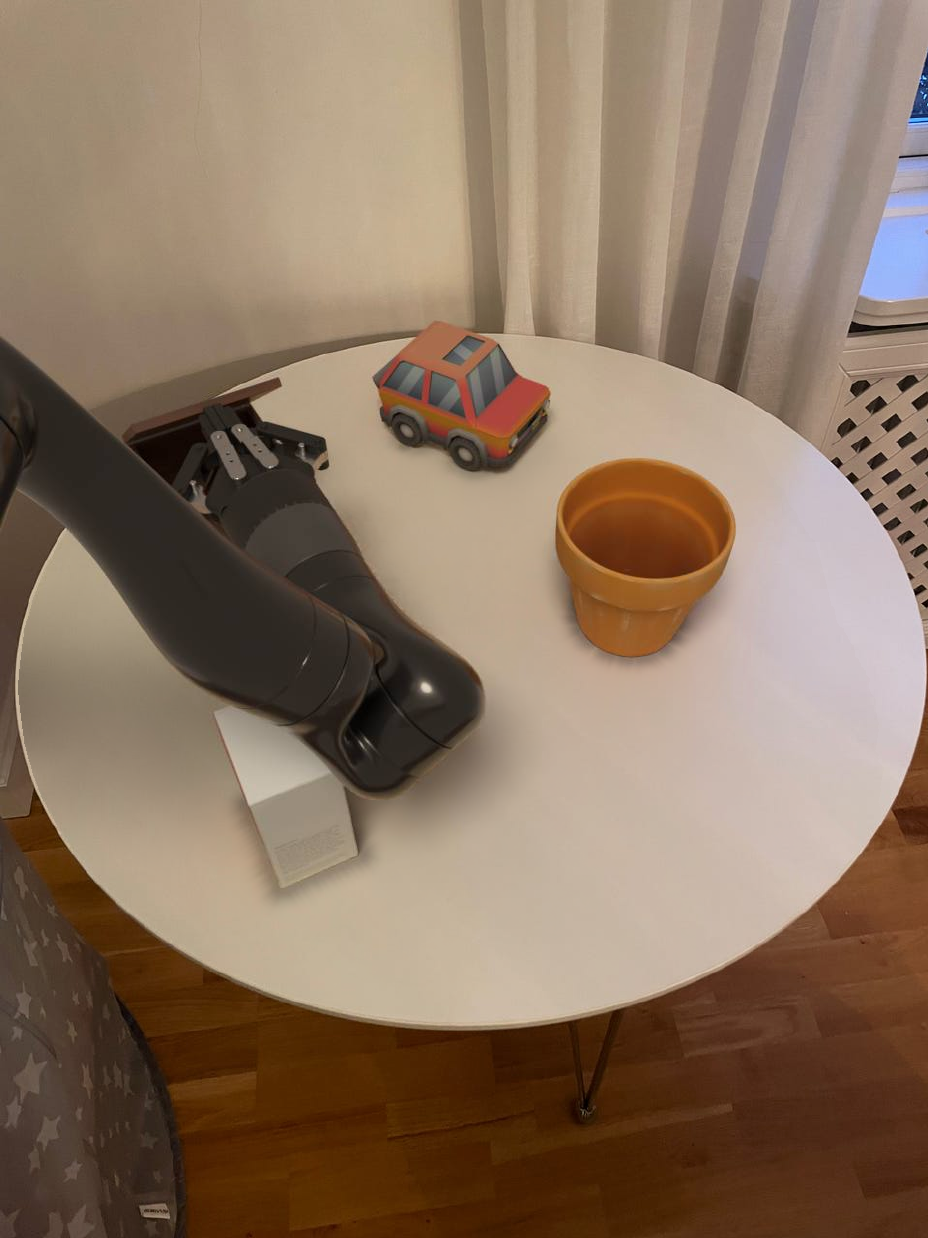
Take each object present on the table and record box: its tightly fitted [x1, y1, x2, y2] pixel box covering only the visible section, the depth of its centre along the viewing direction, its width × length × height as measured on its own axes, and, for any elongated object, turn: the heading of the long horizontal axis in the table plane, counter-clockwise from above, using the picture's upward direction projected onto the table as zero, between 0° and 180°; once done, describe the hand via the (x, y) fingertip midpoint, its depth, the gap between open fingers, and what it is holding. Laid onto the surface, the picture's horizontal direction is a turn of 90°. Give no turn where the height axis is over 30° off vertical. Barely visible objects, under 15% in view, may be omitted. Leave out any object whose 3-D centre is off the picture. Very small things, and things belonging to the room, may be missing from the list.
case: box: [126, 402, 278, 537], centre depth 89 cm, size 15×13×8 cm
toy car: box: [371, 320, 552, 471], centre depth 98 cm, size 12×17×10 cm
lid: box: [121, 376, 283, 444], centre depth 83 cm, size 15×13×1 cm
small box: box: [212, 705, 359, 889], centre depth 66 cm, size 8×6×13 cm
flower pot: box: [554, 457, 737, 658], centre depth 79 cm, size 14×14×13 cm
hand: (212, 413), depth 75 cm, fingers closed
